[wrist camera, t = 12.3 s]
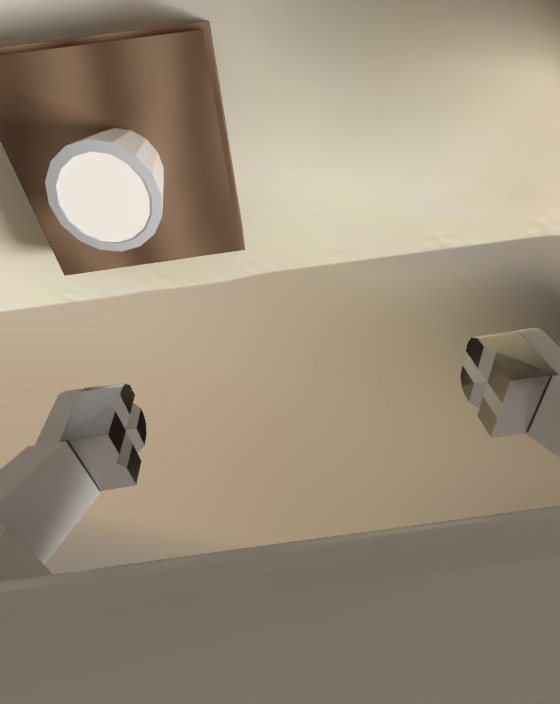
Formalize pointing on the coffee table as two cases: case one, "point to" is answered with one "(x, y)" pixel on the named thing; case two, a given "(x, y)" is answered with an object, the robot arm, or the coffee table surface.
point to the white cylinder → (108, 189)
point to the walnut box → (131, 114)
